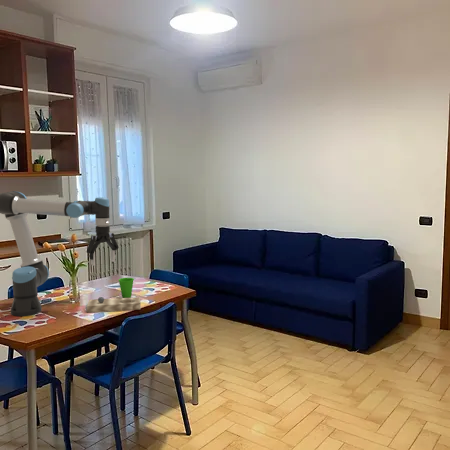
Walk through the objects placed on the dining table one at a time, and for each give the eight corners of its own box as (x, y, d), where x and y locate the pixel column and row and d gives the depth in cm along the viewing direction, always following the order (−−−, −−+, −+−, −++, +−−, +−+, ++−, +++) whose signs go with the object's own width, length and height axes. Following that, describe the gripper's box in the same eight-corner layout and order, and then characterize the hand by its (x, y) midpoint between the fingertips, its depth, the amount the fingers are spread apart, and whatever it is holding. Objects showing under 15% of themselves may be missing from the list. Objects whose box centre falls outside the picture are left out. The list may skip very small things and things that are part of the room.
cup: (115, 298, 273) (115, 280, 272) (125, 294, 281) (125, 277, 280) (127, 300, 269) (127, 282, 268) (137, 296, 277) (137, 278, 276)
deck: (87, 312, 247) (86, 306, 247) (89, 305, 259) (89, 299, 259) (140, 309, 252) (140, 303, 252) (140, 303, 264) (140, 297, 264)
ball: (97, 303, 251) (97, 298, 251) (98, 302, 254) (98, 296, 254) (103, 303, 252) (103, 297, 251) (104, 301, 255) (104, 296, 254)
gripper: (87, 228, 244) (88, 268, 247) (124, 224, 264) (124, 260, 266) (79, 227, 248) (79, 266, 251) (115, 223, 268) (116, 259, 271)
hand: (103, 263), depth 259 cm, fingers open, 13 cm apart
